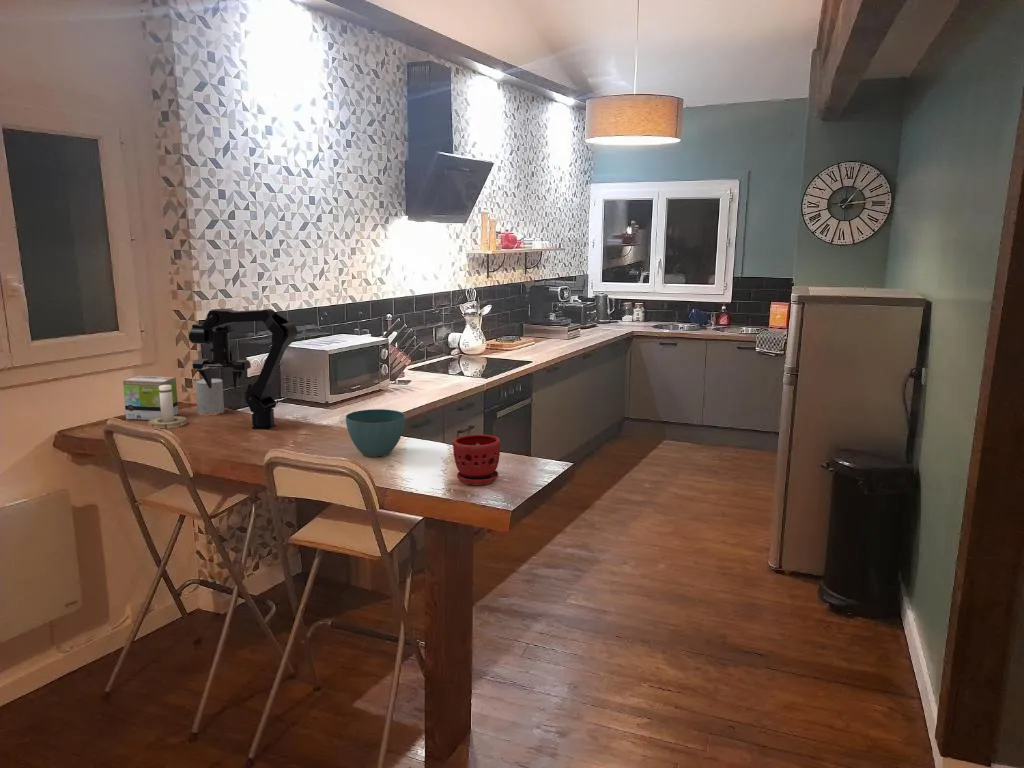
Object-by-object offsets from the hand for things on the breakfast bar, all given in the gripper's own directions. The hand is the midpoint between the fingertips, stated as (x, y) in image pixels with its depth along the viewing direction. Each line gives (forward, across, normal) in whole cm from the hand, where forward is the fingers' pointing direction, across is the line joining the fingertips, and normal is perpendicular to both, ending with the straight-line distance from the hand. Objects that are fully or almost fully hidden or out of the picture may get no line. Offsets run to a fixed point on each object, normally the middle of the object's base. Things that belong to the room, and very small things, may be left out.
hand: (223, 388), depth 260 cm
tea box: (+13, +30, -6) cm, 34 cm away
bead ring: (+13, +20, +3) cm, 24 cm away
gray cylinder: (+13, +13, -16) cm, 24 cm away
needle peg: (+13, +19, +3) cm, 24 cm away
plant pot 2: (+13, -96, +51) cm, 110 cm away
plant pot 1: (+13, -62, +29) cm, 70 cm away
